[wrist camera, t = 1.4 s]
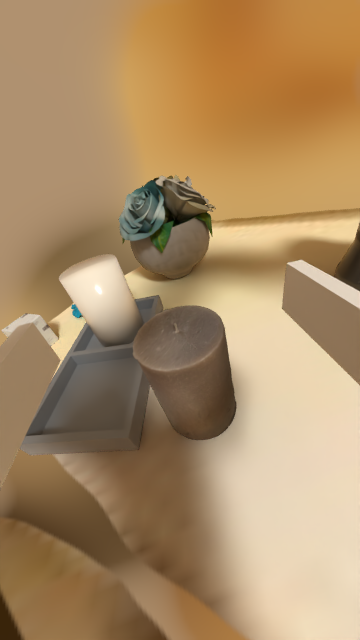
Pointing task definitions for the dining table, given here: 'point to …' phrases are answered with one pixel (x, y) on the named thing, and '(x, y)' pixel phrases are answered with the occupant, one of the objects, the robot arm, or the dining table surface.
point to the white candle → (104, 299)
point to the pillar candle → (188, 369)
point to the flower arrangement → (167, 226)
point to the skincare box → (38, 322)
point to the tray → (93, 397)
